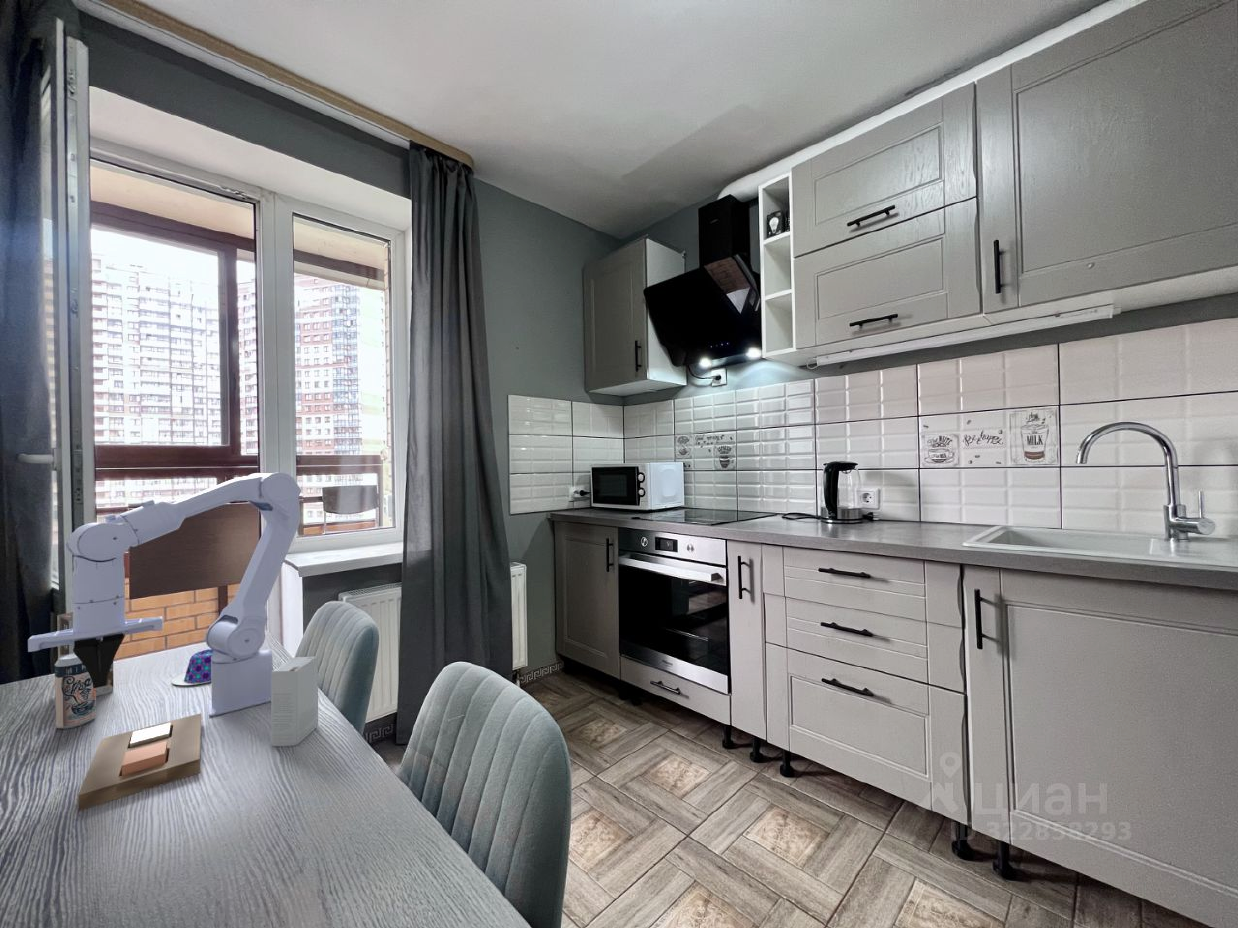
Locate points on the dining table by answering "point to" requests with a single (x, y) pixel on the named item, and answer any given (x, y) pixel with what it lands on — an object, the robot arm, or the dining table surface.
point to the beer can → (73, 693)
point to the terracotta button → (144, 758)
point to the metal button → (150, 735)
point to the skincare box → (294, 701)
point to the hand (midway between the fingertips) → (100, 685)
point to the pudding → (196, 669)
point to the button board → (107, 769)
